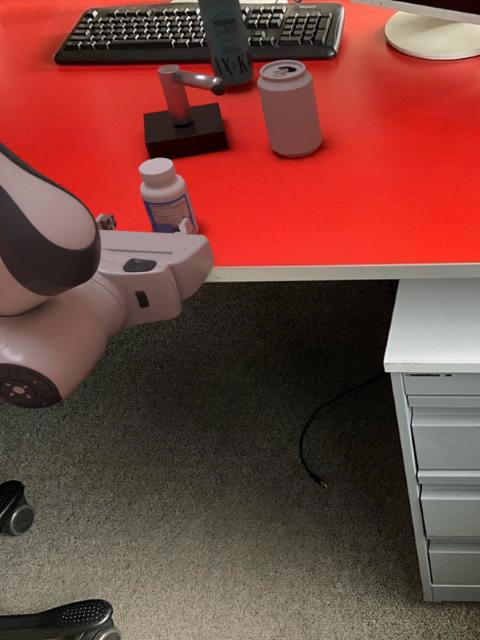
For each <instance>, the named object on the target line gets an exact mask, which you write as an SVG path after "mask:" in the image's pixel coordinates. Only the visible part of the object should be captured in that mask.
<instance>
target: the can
mask: <svg viewBox="0 0 480 640" xmlns="http://www.w3.org/2000/svg"><path fill="white" fill-rule="evenodd" d="M306 69H307V67H306V64H304V63H303V62H301V61H299V60H294V59H281V60H280V59H279V60H275V61H272V62H269V63H266V64H264V65H263V66H262V67H261V68H260V70H259V74H260V76H259V77H258V79H257V81H256V83H257V89H258V94H259V98H260V103H261V108H262V113H263V117H264V122H265V128H266V131H267V136H268V140H269V141H268V142H269V146H270V149H271V150H273V151H274V152H276V153H277V154H279V155H280V156H283V157H286V158H300V157H306V156H309V155H310V154H311V155H312V153H314V152H315V151H316V150H318V148H319V146H321V144H322V143H323V135H322V128H321V122H320V116H319V111H318V105H317V98H316V93H315V86H314V80H313V76H312V74H311V72H309V71H308V70H306Z"/></svg>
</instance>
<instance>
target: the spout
mask: <svg viewBox="0 0 480 640" xmlns="http://www.w3.org/2000/svg"><path fill="white" fill-rule="evenodd" d="M157 74H158V78H159V81H160V85H161V89H162V92H163V95H164V99H165V102H166V106H167V110H169V113H170V117H171V120H172V123H173V124H175V125H184V124H188V123H190V122H192V120H193V116H192V112H191V109H190V107H191V105H190V101H189V97H188V94H187V90H186V87H189V88H194V89H199V90H204V91H209V92H211V93H212V94H213V95H215V96H217V97H221V96H223V95H225V94H226V92H227V90H228V85H226V84H225V82H224V81H222V80H221V79H220V78H219V77H215V76H214V75H209V74H204V73H199V72H193V71H188V70H184V69H183V70H182V69H181V67H180V66H179V65H177V64H165V65H164V64H163V65H162V66H159V67H158V68H157Z"/></svg>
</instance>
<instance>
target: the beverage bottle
mask: <svg viewBox="0 0 480 640" xmlns="http://www.w3.org/2000/svg"><path fill="white" fill-rule="evenodd" d="M197 3H198V6H199V12H200V17H201V21H202V27H203V29H202V31H203V32H204V38H205V41H206V47H207V52H208V57H209V61H210V65H211V69H212V70H211V71H212V72H213V76H215V77H219V78H220V79H221V80H222V81H224V82H225V84H226V86H237V85H242V84H245V83H248V82H250V81H251V80H252V79H253V78H254V72H255V68H254V62H253V57H252V52H251V48H250V44H249V40H248V39H249V38H248V35H247V33H248V31H247V30H246V26H245V23H246V22H245V20H244V17H243V13H242V7H241V3H240V0H197Z"/></svg>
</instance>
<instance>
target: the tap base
mask: <svg viewBox="0 0 480 640" xmlns="http://www.w3.org/2000/svg"><path fill="white" fill-rule="evenodd" d="M190 109H191V112H192V116H193V120H192V122H190V123H188V124H184V125H175V124H173V123H172V120H171V117H170V113H169V110H168V109H166V110H159V111H152V112H146V113H142V117H143V130H144V144H145V147H146V151H147V154H148V157H149V160H151V159H155V158H167V159H170V160H173V159H179V158H185V157H192V156H197V155H205V154H209V153H216V152H221V151H227V150H230V146H229V142H228V138H227V133H226V129H225V124H224V119H223V116H222V111H221V107H220V104H219V102H211V103H205V104H198V105H192V106H191V105H190Z"/></svg>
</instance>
